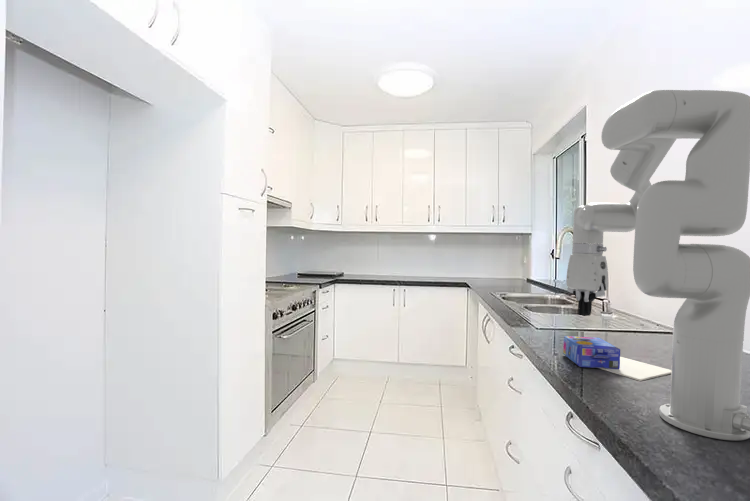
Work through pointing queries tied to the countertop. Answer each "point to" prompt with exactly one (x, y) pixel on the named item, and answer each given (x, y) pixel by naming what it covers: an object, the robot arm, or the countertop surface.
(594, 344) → the ink cartridge box
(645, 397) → the countertop surface
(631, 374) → the cream mat
